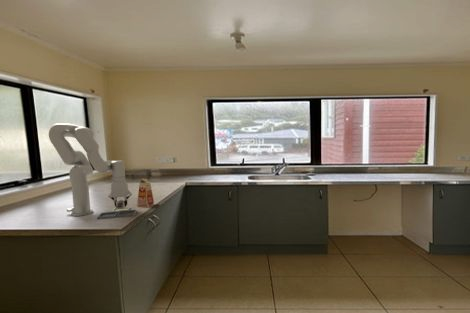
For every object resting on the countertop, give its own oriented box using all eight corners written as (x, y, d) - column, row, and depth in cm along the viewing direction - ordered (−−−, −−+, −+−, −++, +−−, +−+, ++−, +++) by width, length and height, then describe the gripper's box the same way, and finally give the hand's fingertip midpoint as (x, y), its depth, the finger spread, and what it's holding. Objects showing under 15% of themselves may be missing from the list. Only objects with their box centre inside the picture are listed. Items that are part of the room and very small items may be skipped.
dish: (111, 213, 174) (111, 211, 174) (114, 209, 184) (114, 207, 183) (128, 212, 176) (127, 210, 176) (130, 208, 186) (130, 206, 185)
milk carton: (148, 207, 187) (146, 178, 186) (136, 207, 189) (134, 178, 187) (154, 204, 196) (153, 176, 194) (143, 203, 198) (141, 176, 196)
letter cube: (116, 209, 176) (115, 201, 176) (118, 207, 181) (117, 200, 181) (124, 208, 178) (124, 201, 177) (125, 206, 182) (125, 199, 182)
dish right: (117, 218, 164) (116, 215, 164) (120, 213, 174) (120, 211, 174) (134, 216, 166) (134, 213, 166) (136, 212, 176) (136, 209, 176)
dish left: (97, 219, 162) (97, 217, 162) (101, 215, 172) (101, 212, 172) (115, 218, 164) (115, 215, 164) (118, 213, 174) (118, 211, 174)
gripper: (103, 181, 173) (105, 209, 174) (131, 179, 176) (133, 206, 178) (106, 179, 180) (108, 206, 181) (133, 177, 183) (135, 203, 185)
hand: (121, 206), depth 179 cm, fingers closed on letter cube, 5 cm apart
